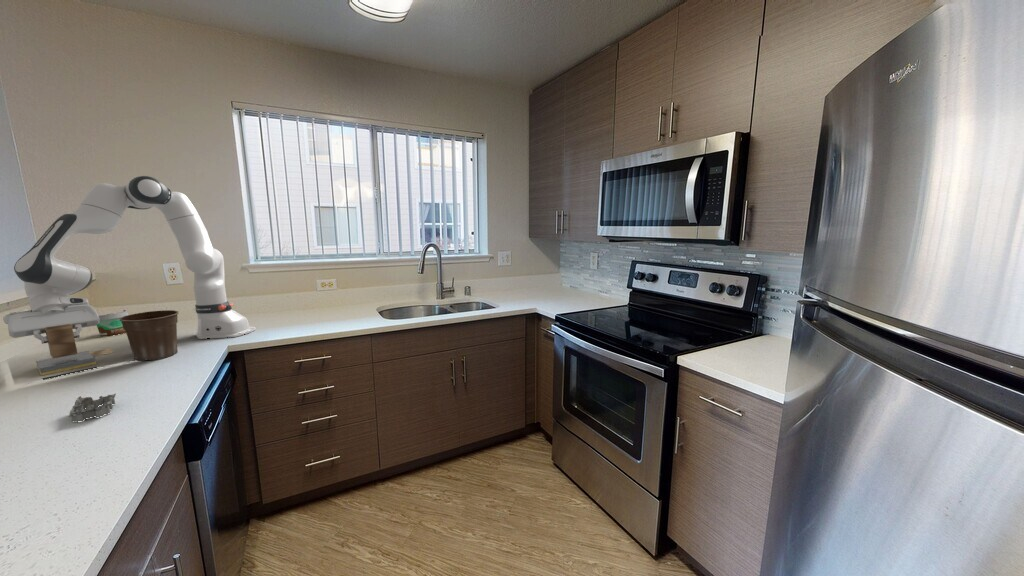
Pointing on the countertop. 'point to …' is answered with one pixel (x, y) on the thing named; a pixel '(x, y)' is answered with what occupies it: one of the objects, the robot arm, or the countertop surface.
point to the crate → (61, 341)
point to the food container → (111, 324)
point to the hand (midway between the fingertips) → (61, 339)
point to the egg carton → (91, 407)
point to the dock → (65, 364)
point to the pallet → (101, 352)
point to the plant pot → (152, 334)
